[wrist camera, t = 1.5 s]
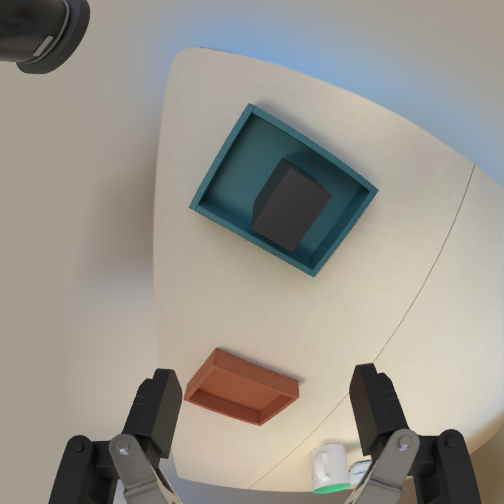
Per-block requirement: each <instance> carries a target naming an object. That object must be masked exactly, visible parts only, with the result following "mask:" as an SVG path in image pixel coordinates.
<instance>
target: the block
mask: <svg viewBox="0 0 504 504" xmlns="http://www.w3.org/2000/svg"><path fill="white" fill-rule="evenodd" d="M331 197H332V196H331V194H330V193H329V192H328V191H327V190H326V189H325V188H324V187H323V186H322V185H321V184H320V183H319V182H318V181H317V180H316V179H315V178H314V177H313V176H311V175H310V174H308V173H307V172H305V171H303V170H302V169H300V168H299V167H297V166H296V165H294V164H293V163H291V162H289V161H288V160H286V159H285V158H281V160H280V161H279V163H278V165H277V166H276V168H275V169H274V171H273V172H272V174H271V175H270V177H269V179H268V180H267V182H266V183H265V185H264V186H263V188H262V190H261V191H260V193H259V194H258V196H257V198H256V199H255V201H254V205H253V214H252V224H251V229H252V230H254V231H256V232H258V233H259V234H261V235H263V236H265V237H266V238H268V239H270V240H272V241H273V242H275V243H277V244H278V245H280V246H282V247H284V248H285V249H287V250H289V251H291V252H293V251H294V249H295V248H296V246H297V245H298V244H299V242H300V241H301V239H302V238H303V237H304V235H305V234H306V232H307V231H308V230H309V228H310V227H311V225H312V224H313V223H314V221H315V220H316V218H317V217H318V216H319V214H320V213H321V211H322V210H323V208H324V207H325V206H326V204H327V203H328V201H329V200H330V198H331Z"/></svg>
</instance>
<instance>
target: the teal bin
mask: <svg viewBox="0 0 504 504" xmlns="http://www.w3.org/2000/svg"><path fill="white" fill-rule="evenodd" d="M281 158H285V159H286V160H288V161H289V162H291V163H293V164H294V165H296V166H297V167H299V168H300V169H302V170H303V171H305V172H307V173H308V174H310V175H311V176H313V177H314V178H315V179H316V180H317V181H318V182H319V183H320V184H321V185H322V186H323V187H324V188H325V189H326V190H327V191H328V192H329V193H330V194H331V196H332V197H331V198H330V200H329V201H328V203H327V204H326V206H325V207H324V208H323V210H322V211H321V213H320V214H319V216H318V217H317V218H316V220H315V221H314V223H313V224H312V225H311V227H310V228H309V230H308V231H307V232H306V234H305V235H304V237H303V238H302V239H301V241H300V242H299V244H298V245H297V246H296V248H295V249H294V251H293V252H291V251H289V250H287V249H285V248H284V247H282V246H280V245H278V244H277V243H275V242H273V241H272V240H270V239H268V238H266V237H265V236H263V235H261V234H259V233H258V232H256V231H254V230H252V229H251V224H252V214H253V205H254V201H255V199H256V198H257V196H258V194H259V193H260V191H261V190H262V188H263V186H264V185H265V183H266V182H267V180H268V179H269V177H270V175H271V174H272V172H273V171H274V169H275V168H276V166H277V165H278V163H279V161H280V160H281ZM378 191H379V190H378V189H377V188H376V187H375V186H374V185H372V184H371V183H370V182H368V181H367V180H366V179H365V178H363V177H362V176H361V175H359V174H358V173H357V172H355V171H354V170H353V169H351V168H350V167H349V166H347V165H346V164H345V163H343V162H342V161H341V160H339V159H338V158H336V157H335V156H334V155H332V154H331V153H329V152H328V151H326V150H325V149H323V148H322V147H321V146H319V145H318V144H316V143H315V142H313V141H312V140H310V139H309V138H307V137H306V136H304V135H302V134H301V133H299V132H298V131H296V130H295V129H293V128H291V127H290V126H288V125H287V124H285V123H283V122H282V121H280V120H278V119H277V118H275V117H273V116H272V115H270V114H268V113H266V112H265V111H263V110H261V109H259V108H258V107H255V106H254V105H252V104H250V103H249V104H248V105H247V107H246V108H245V110H244V112H243V113H242V115H241V116H240V118H239V120H238V121H237V123H236V124H235V126H234V128H233V129H232V131H231V133H230V134H229V136H228V138H227V139H226V141H225V143H224V144H223V146H222V148H221V150H220V151H219V153H218V155H217V157H216V158H215V160H214V162H213V164H212V165H211V167H210V169H209V171H208V172H207V174H206V176H205V178H204V180H203V182H202V183H201V185H200V187H199V189H198V191H197V193H196V195H195V196H194V198H193V200H192V202H191V204H190V206H189V208H191V209H193V210H195V211H196V212H198V213H200V214H202V215H204V216H205V217H207V218H209V219H211V220H213V221H214V222H216V223H218V224H220V225H222V226H223V227H225V228H227V229H229V230H231V231H232V232H234V233H236V234H238V235H239V236H241V237H243V238H245V239H247V240H248V241H250V242H252V243H254V244H256V245H257V246H259V247H261V248H263V249H264V250H266V251H268V252H270V253H272V254H273V255H275V256H277V257H279V258H280V259H282V260H284V261H286V262H288V263H289V264H291V265H293V266H295V267H296V268H298V269H300V270H302V271H303V272H305V273H307V274H309V275H310V276H312V277H315V276H316V274H317V273H318V272H319V271H320V269H321V268H322V267H323V266H324V264H325V263H326V262H327V260H328V259H329V258H330V256H331V255H332V254H333V253H334V251H335V250H336V249H337V247H338V246H339V245H340V243H341V242H342V241H343V239H344V238H345V237H346V235H347V234H348V233H349V231H350V230H351V229H352V227H353V226H354V224H355V223H356V222H357V220H358V219H359V218H360V216H361V215H362V213H363V212H364V211H365V209H366V208H367V206H368V205H369V204H370V202H371V201H372V199H373V198H374V196H375V195H376V194H377V192H378Z"/></svg>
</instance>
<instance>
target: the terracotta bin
mask: <svg viewBox="0 0 504 504" xmlns="http://www.w3.org/2000/svg"><path fill="white" fill-rule="evenodd" d="M298 398H299V388H298V381H297V380H294V379H291V378H288V377H286V376H283V375H280V374H278V373H275V372H272V371H270V370H267V369H265V368H262V367H259V366H257V365H254V364H252V363H250V362H247V361H245V360H242V359H240V358H238V357H235V356H233V355H231V354H228V353H226V352H224V351H221V350H219V349H217V348H215V350H214V351H213V352H212V354H211V355H210V356H209V358H208V359H207V360H206V361H205V363H204V364H203V365H202V367H201V368H200V369H199V370H198V372H197V373H196V374H195V375H194V377H193V378H192V379H191V381H190V382H189V383H188V384H187V388H186V392H185V396H184V400H185V401H188V402H190V403H193V404H195V405H198V406H201V407H203V408H206V409H209V410H211V411H214V412H217V413H220V414H223V415H226V416H229V417H232V418H235V419H238V420H241V421H245V422H248V423H251V424H255V425H258V426H261V425H263V424H264V423H265V422H267V421H268V420H270V419H271V418H272V417H274V416H275V415H277V414H278V413H279V412H281V411H282V410H283V409H285V408H286V407H287V406H289V405H290V404H291V403H293V402H294V401H295V400H296V399H298Z"/></svg>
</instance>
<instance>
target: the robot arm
mask: <svg viewBox="0 0 504 504" xmlns="http://www.w3.org/2000/svg"><path fill="white" fill-rule="evenodd" d="M70 19H71V6H70V3H69V2H68V1H66V0H0V61H9V62H21V63H25V64H35V63H38V62H40V61H42V60H43V59H45V58H46V57H47V56H48V55H49V54H50V53H51V52H52V51H53V50H54V49H55V48H56V47H57V45H58V44H59V42H60V41H61V39H62V38H63V36H64V34H65V32H66V30H67V28H68V26H69V23H70ZM349 394H350V400H351V404H352V408H353V412H354V416H355V421H356V425H357V429H358V434H359V438H360V443H361V448H362V452H363V456H367V455H371V458H372V462H371V463H370V465H369V467H368V468H367V470H366V472H365V473H364V475H363V477H362V478H361V480H360V482H359V483H358V485H357V486H356V488H355V489H354V491H353V492H352V494H351V495H350V497H349V498H348V499H347V500H346V502H345V503H344V504H397V502H398V500H399V498H400V496H401V493H402V485H403V483H404V481H405V479H406V476H413V478H414V484H415V489H416V496H417V502H418V504H481V500H480V495H479V490H478V486H477V482H476V478H475V474H474V470H473V467H472V463H471V460H470V456H469V453H468V450H467V447H466V444H465V441H464V438H463V436H462V434H461V433H460V432H459V431H457V430H454V429H448V430H445V431H444V432H442V433H441V434H440V435H439V436H421V435H418V434H416V433H415V432H414V431H412V430H410V428H409V427H408V425H407V422H406V419H405V416H404V413H403V410H402V408H401V405H400V402H399V399H398V397H397V394H396V392H395V389H394V386H393V384H392V381H391V380H390V379H389V377H388V376H387V375H386V374H385V373H379V374H377V371H376V368H375V366H374V364H373V363H368V364H361V365H356V367H355V370H354V373H353V376H352V380H351V383H350V388H349ZM181 402H182V389H181V386H180V384H179V381H178V379H177V376H176V374H175V371H174V370H172V369H160V368H158V369H156V371H155V373H154V376H153V379H148V378H147V379H146V380H145V381H144V382H143V383H142V384H141V385H140V386H139V389H138V391H137V394H136V397H135V399H134V402H133V405H132V407H131V410H130V413H129V415H128V418H127V421H126V423H125V426H124V429H123V431H122V433H121V434H119V435H117V436H115V437H114V438H113V439H112V440H110V441H90V440H89V439H88V438H87V437H85V436H82V435H77V436H74V437H72V438H71V439H70V440H69V441H68V443H67V445H66V448H65V451H64V454H63V457H62V460H61V463H60V466H59V469H58V472H57V475H56V478H55V482H54V485H53V489H52V492H51V495H50V499H49V503H48V504H113V500H114V495H115V491H116V486H117V482H118V479H121V481H122V483H123V485H124V488H125V491H124V492H123V493H124V497H125V499H126V501H127V503H128V504H184V503H183V502H182V500H180V498H179V497H178V496H177V494H176V493H175V491H174V490H173V488H172V486H171V485H170V483H169V481H168V480H167V478H166V476H165V475H164V473H163V472H162V469H161V468H160V466H159V461H160V458H165V459H168V457H169V453H170V448H171V444H172V440H173V436H174V431H175V427H176V423H177V419H178V415H179V411H180V406H181Z"/></svg>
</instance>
